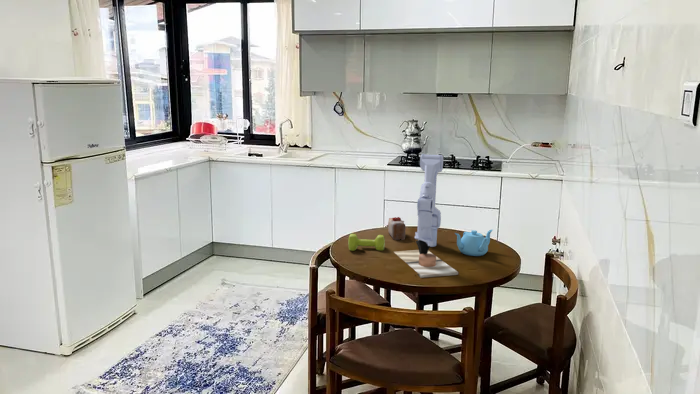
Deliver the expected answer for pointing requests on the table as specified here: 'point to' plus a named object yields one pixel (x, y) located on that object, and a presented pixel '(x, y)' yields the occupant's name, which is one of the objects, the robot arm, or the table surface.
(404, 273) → the table surface
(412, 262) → the board
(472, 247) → the teapot
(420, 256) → the puck
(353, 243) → the dumbbell
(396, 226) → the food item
